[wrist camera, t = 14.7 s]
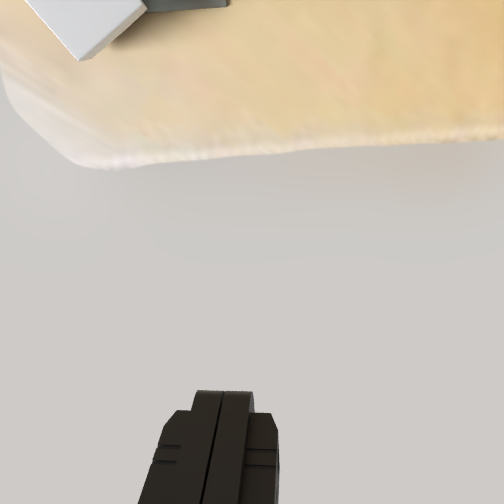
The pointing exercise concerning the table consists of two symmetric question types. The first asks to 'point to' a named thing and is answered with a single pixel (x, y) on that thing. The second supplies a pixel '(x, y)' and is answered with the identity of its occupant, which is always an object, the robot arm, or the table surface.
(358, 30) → the table surface
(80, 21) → the milk carton
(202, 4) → the tray
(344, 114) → the table surface
